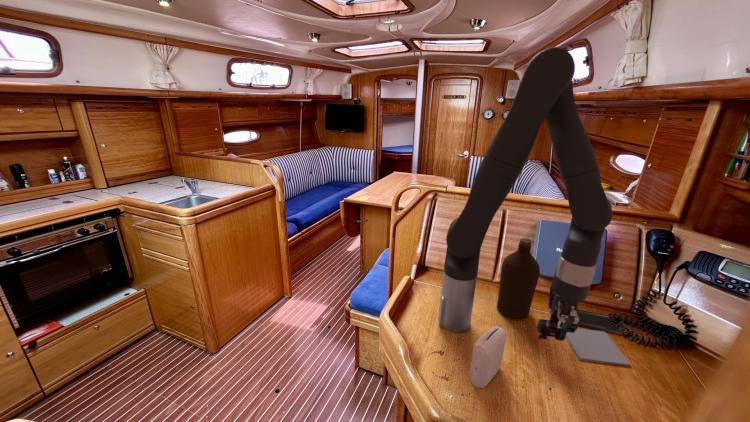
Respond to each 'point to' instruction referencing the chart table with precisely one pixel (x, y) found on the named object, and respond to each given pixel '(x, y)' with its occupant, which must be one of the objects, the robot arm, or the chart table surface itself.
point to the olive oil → (518, 282)
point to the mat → (595, 347)
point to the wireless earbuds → (546, 328)
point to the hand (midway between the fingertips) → (555, 333)
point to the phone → (598, 322)
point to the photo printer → (487, 356)
